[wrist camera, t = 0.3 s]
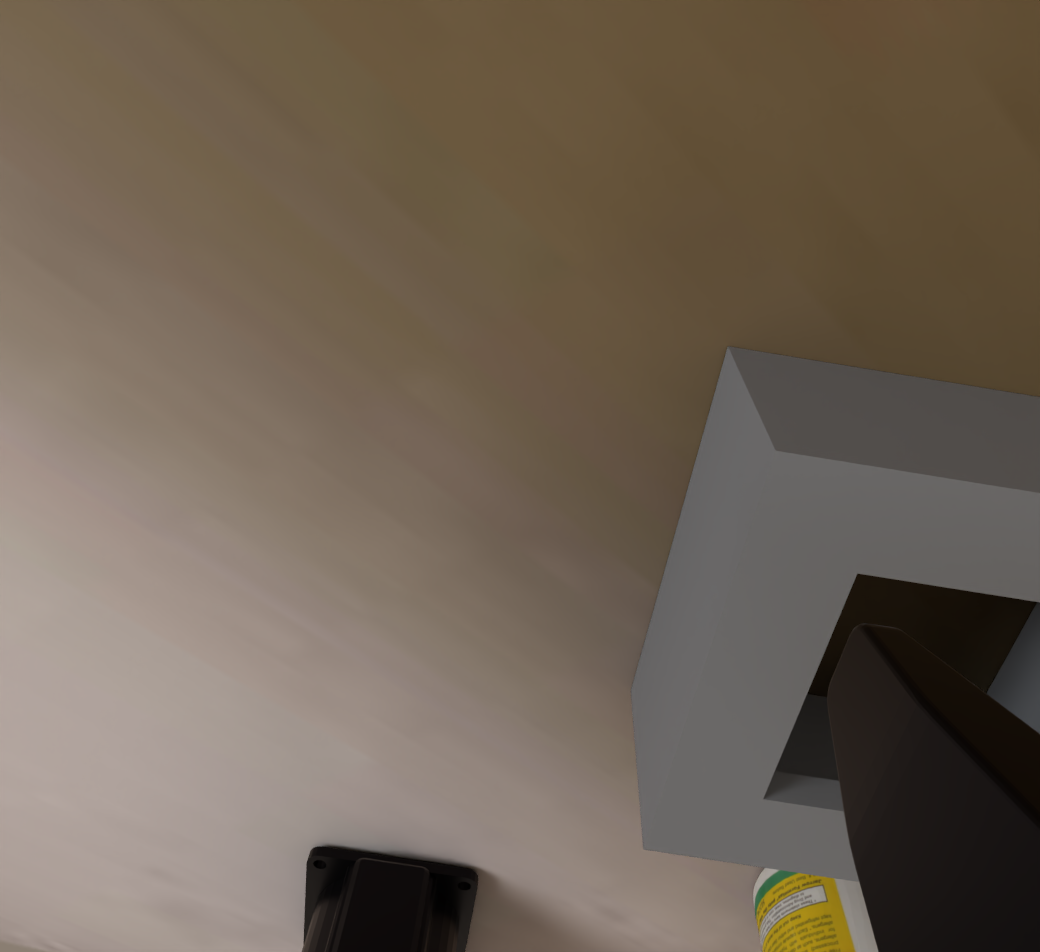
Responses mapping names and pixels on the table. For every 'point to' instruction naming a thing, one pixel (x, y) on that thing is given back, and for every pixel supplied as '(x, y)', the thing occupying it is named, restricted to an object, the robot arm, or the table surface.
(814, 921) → the supplement bottle
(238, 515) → the table surface
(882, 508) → the drop box
